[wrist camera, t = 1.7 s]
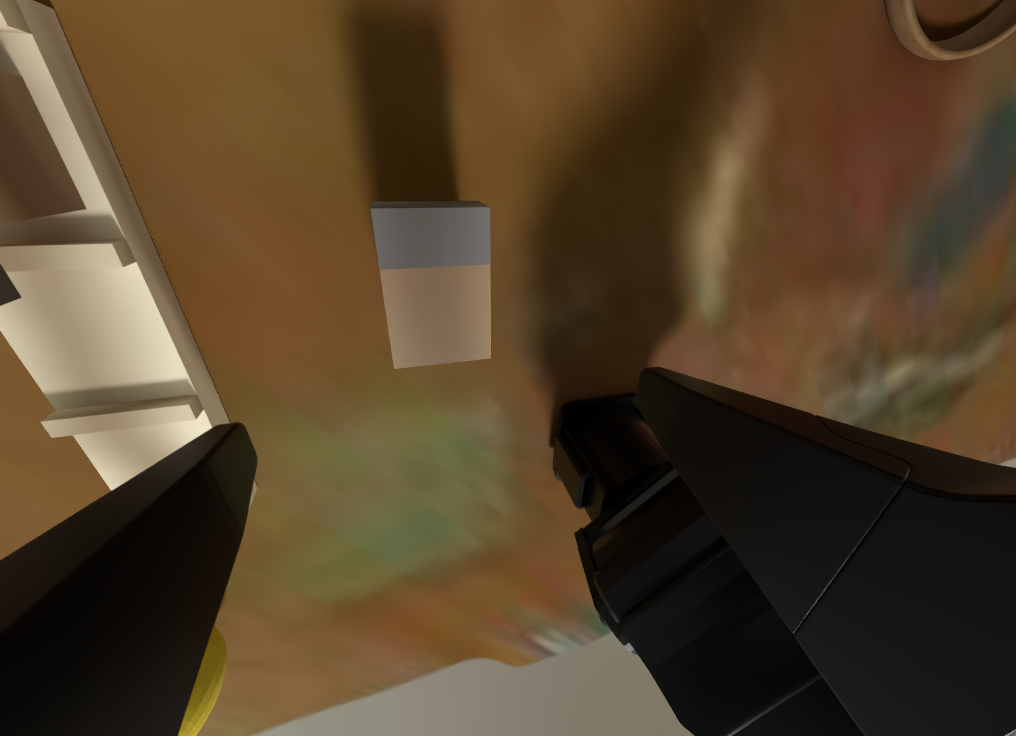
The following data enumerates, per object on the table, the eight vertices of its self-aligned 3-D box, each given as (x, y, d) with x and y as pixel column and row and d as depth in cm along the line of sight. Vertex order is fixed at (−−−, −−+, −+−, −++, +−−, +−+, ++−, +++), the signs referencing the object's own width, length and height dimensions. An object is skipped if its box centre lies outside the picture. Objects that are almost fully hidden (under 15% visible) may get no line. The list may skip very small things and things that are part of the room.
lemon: (118, 615, 23) (7, 802, 16) (210, 579, 24) (139, 747, 17) (181, 652, 26) (108, 824, 19) (261, 619, 27) (217, 776, 20)
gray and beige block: (460, 191, 17) (490, 207, 12) (464, 306, 20) (490, 358, 15) (376, 192, 16) (370, 208, 11) (393, 311, 19) (394, 368, 14)
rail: (53, 8, 12) (-357, -170, 5) (257, 487, 21) (202, 625, 15) (-175, -12, 10) (-1067, -277, 4) (153, 505, 20) (46, 663, 14)
